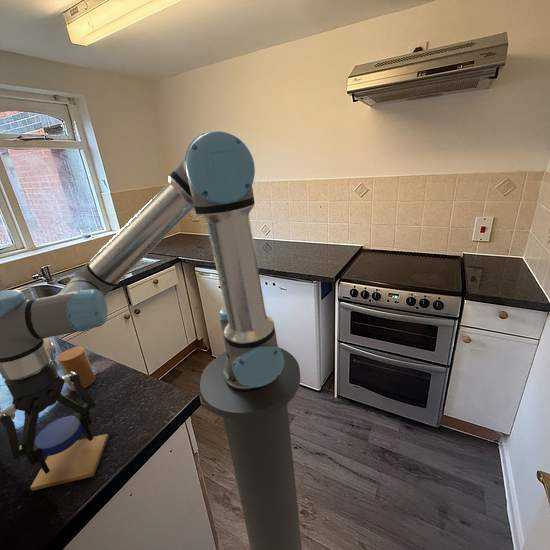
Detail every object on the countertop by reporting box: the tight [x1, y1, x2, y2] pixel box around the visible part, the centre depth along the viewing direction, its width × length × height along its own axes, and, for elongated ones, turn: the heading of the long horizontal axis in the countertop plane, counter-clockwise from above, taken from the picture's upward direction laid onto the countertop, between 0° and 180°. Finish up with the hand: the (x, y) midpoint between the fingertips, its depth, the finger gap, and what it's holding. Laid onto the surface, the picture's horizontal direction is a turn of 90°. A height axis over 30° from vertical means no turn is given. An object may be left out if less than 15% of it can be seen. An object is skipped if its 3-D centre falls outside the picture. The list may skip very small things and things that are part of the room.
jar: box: [56, 346, 97, 392], centre depth 90 cm, size 7×7×11 cm
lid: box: [34, 415, 84, 457], centre depth 64 cm, size 8×8×2 cm
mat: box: [29, 433, 110, 491], centre depth 67 cm, size 12×10×1 cm
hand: (68, 452), depth 66 cm, fingers closed on lid, 8 cm apart
